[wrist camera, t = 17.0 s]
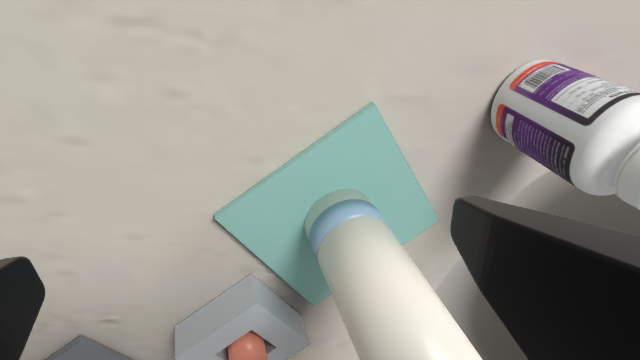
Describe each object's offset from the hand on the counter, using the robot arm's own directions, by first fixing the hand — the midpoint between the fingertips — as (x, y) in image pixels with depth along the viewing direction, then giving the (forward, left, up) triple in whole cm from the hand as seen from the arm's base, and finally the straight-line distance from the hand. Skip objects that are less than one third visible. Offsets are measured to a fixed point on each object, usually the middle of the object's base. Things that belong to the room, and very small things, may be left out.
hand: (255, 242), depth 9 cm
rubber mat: (+12, 0, -13) cm, 18 cm away
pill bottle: (+13, +14, -13) cm, 23 cm away
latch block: (+15, -10, -13) cm, 22 cm away
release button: (+15, -10, -12) cm, 22 cm away
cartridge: (+12, 0, -12) cm, 17 cm away
